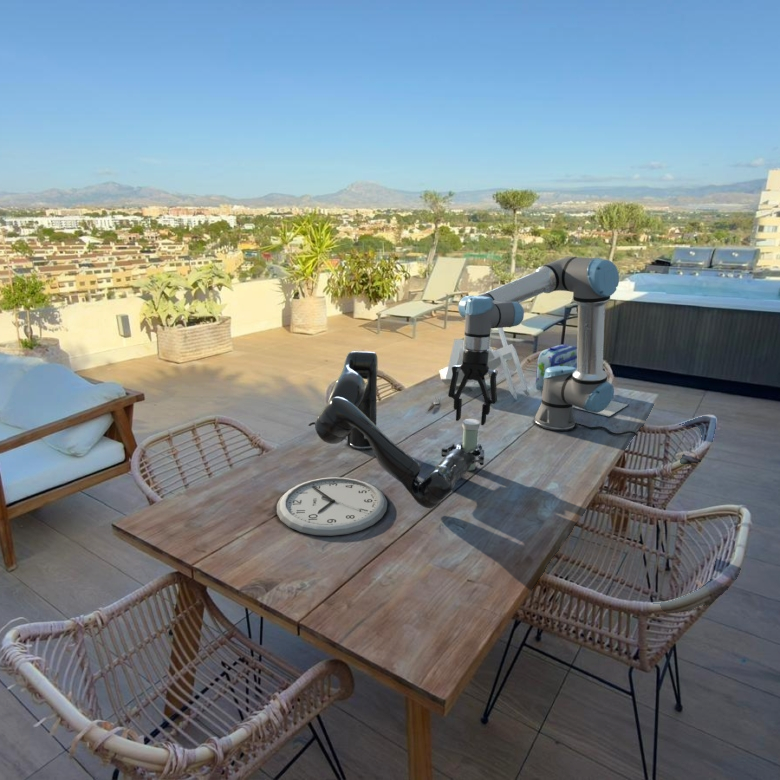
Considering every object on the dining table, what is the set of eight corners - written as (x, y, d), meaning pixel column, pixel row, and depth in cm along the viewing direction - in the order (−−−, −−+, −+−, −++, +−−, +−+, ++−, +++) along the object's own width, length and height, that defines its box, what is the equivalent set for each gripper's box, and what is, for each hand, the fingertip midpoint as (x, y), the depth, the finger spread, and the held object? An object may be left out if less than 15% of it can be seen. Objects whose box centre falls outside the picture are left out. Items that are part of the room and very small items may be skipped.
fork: (425, 411, 216) (425, 407, 215) (435, 400, 230) (435, 396, 230) (431, 412, 215) (431, 408, 214) (441, 401, 229) (441, 396, 229)
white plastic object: (461, 429, 252) (437, 405, 227) (444, 352, 274) (420, 323, 250) (535, 404, 240) (518, 377, 215) (510, 326, 262) (492, 293, 237)
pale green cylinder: (476, 465, 168) (479, 421, 164) (474, 471, 164) (477, 426, 160) (462, 463, 169) (464, 419, 165) (460, 469, 165) (462, 424, 161)
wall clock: (392, 527, 129) (268, 531, 127) (391, 533, 130) (269, 537, 127) (383, 473, 158) (282, 475, 155) (383, 478, 158) (282, 480, 156)
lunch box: (552, 397, 237) (557, 352, 231) (531, 392, 245) (535, 348, 238) (579, 386, 255) (584, 344, 249) (558, 381, 262) (563, 340, 256)
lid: (480, 425, 164) (480, 419, 164) (478, 431, 160) (478, 425, 159) (463, 423, 166) (464, 418, 165) (461, 429, 161) (461, 423, 160)
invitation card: (608, 416, 214) (573, 407, 224) (608, 416, 214) (573, 408, 224) (628, 404, 229) (594, 396, 238) (628, 405, 229) (594, 397, 238)
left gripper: (478, 459, 148) (494, 438, 163) (431, 449, 154) (451, 430, 169) (476, 482, 151) (493, 460, 165) (430, 472, 157) (450, 451, 171)
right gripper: (512, 350, 155) (505, 423, 161) (447, 343, 163) (443, 412, 169) (507, 355, 148) (500, 431, 155) (439, 347, 156) (435, 419, 163)
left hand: (471, 445), depth 167 cm, fingers closed on pale green cylinder, 4 cm apart
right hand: (470, 421), depth 162 cm, fingers open, 7 cm apart
